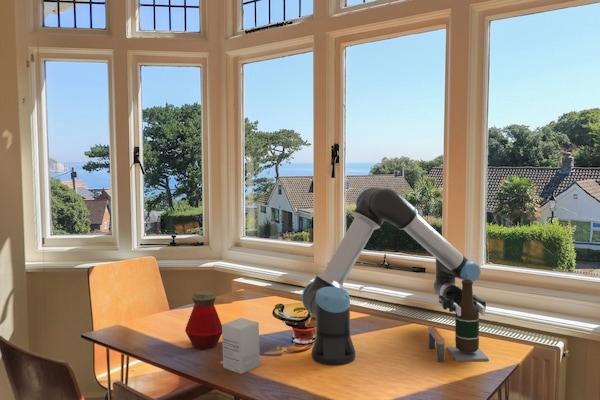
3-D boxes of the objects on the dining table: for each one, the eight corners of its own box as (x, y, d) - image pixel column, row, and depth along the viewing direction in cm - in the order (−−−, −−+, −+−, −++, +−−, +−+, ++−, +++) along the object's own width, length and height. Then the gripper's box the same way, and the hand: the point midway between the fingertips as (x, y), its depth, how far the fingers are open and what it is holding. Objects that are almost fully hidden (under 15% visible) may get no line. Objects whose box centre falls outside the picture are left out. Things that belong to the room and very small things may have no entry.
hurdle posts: (438, 361, 165) (438, 344, 165) (428, 346, 179) (428, 330, 179) (444, 361, 165) (444, 344, 165) (433, 346, 179) (433, 330, 179)
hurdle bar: (438, 344, 165) (438, 339, 165) (428, 330, 179) (428, 326, 179) (444, 344, 165) (444, 339, 165) (433, 330, 179) (433, 326, 179)
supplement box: (242, 359, 170) (240, 317, 169) (260, 365, 165) (259, 321, 164) (222, 367, 163) (221, 323, 162) (241, 374, 158) (239, 328, 157)
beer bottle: (480, 353, 166) (480, 283, 165) (456, 351, 168) (456, 282, 166) (477, 345, 174) (477, 278, 172) (454, 343, 175) (454, 277, 174)
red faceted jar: (177, 344, 186) (176, 292, 185) (207, 335, 196) (206, 286, 194) (201, 355, 175) (199, 299, 174) (231, 345, 184) (230, 292, 183)
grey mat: (455, 361, 165) (455, 358, 165) (446, 349, 176) (446, 347, 176) (488, 360, 165) (488, 358, 165) (477, 349, 176) (477, 346, 176)
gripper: (479, 304, 188) (502, 322, 165) (425, 304, 188) (441, 323, 165) (479, 284, 187) (502, 300, 164) (425, 285, 188) (441, 301, 165)
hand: (471, 311), depth 165 cm, fingers closed on beer bottle, 7 cm apart
